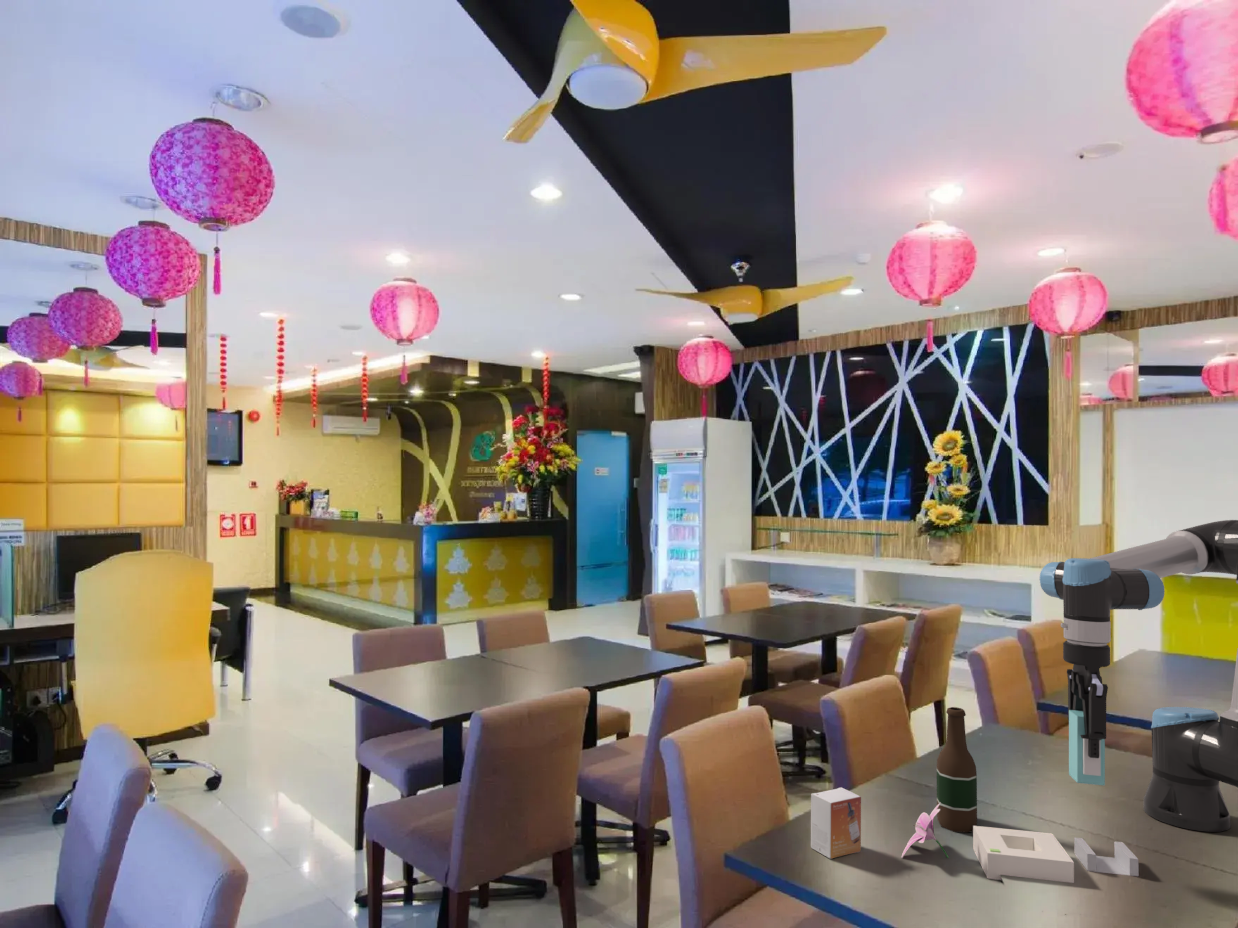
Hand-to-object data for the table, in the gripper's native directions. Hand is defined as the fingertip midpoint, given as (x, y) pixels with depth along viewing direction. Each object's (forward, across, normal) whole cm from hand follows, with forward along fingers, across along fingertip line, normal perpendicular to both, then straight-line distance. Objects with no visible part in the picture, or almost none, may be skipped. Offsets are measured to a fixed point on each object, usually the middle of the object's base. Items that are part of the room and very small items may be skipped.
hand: (1086, 769), depth 145 cm
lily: (+19, 0, -28) cm, 34 cm away
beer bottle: (+19, -15, -19) cm, 31 cm away
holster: (+18, -1, +4) cm, 19 cm away
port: (+18, +2, -12) cm, 22 cm away
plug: (+2, 0, 0) cm, 2 cm away
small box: (+19, +3, -44) cm, 48 cm away
